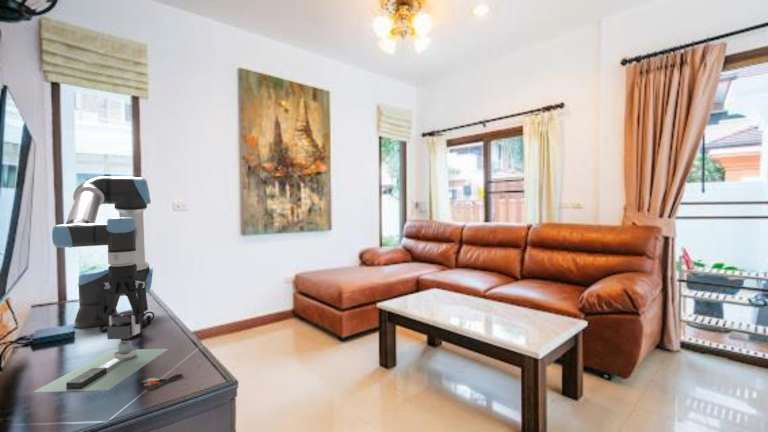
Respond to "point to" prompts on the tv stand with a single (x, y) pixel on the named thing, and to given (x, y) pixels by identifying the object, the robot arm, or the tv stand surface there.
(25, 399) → the tv stand surface
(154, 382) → the composite cable
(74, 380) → the ratchet
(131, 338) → the coffee mug
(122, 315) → the dark grey door knob
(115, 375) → the tool mat
